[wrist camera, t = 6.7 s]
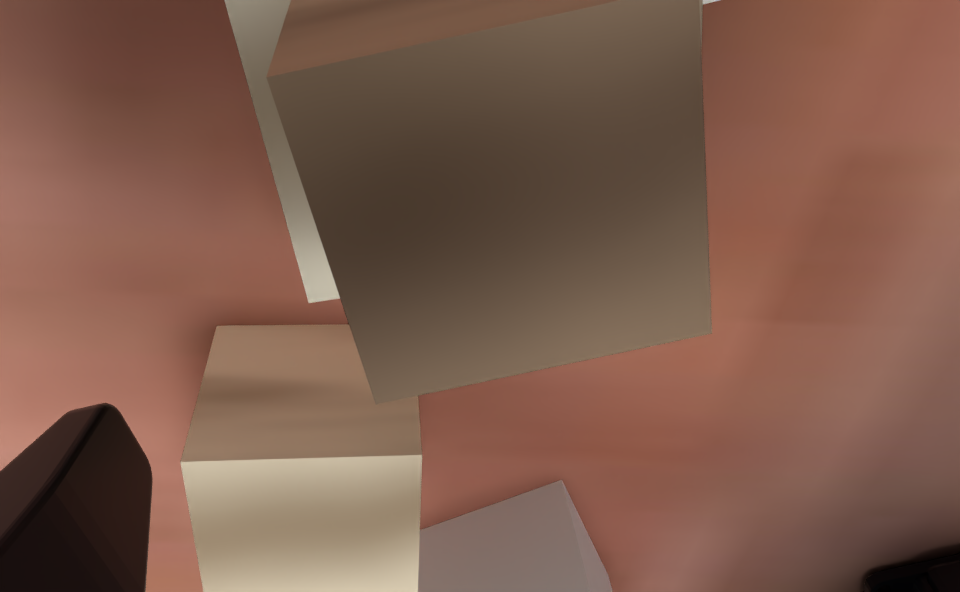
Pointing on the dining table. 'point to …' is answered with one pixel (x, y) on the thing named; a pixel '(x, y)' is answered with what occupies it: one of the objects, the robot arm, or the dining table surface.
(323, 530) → the maple block
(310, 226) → the cream square block
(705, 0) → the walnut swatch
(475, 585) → the grey block
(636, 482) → the dining table surface
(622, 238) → the walnut block
